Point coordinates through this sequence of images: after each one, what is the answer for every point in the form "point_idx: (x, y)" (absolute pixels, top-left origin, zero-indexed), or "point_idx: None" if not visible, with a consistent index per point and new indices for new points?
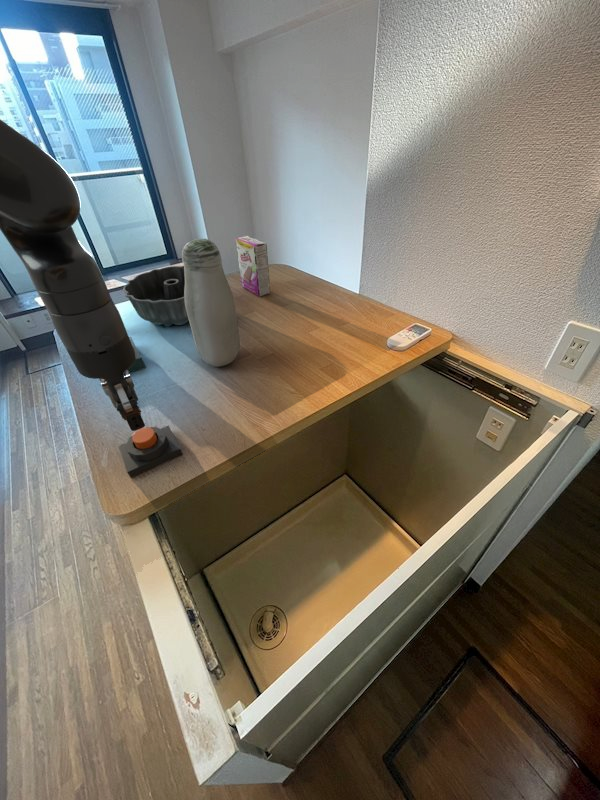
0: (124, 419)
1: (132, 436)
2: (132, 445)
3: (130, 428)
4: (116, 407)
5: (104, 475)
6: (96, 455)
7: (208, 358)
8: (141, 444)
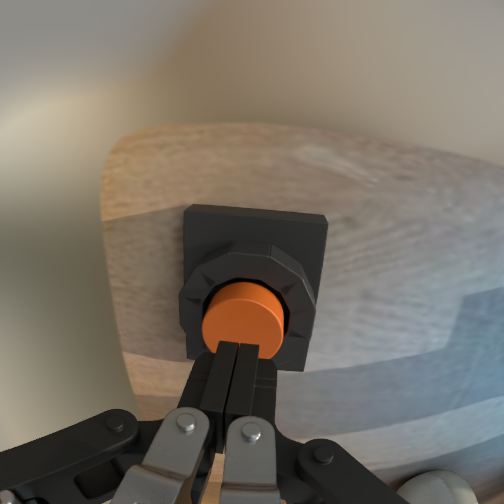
0: (87, 420)
1: (299, 290)
2: (250, 276)
3: (217, 348)
4: (131, 468)
5: (257, 139)
6: (366, 143)
7: (421, 495)
8: (208, 309)
